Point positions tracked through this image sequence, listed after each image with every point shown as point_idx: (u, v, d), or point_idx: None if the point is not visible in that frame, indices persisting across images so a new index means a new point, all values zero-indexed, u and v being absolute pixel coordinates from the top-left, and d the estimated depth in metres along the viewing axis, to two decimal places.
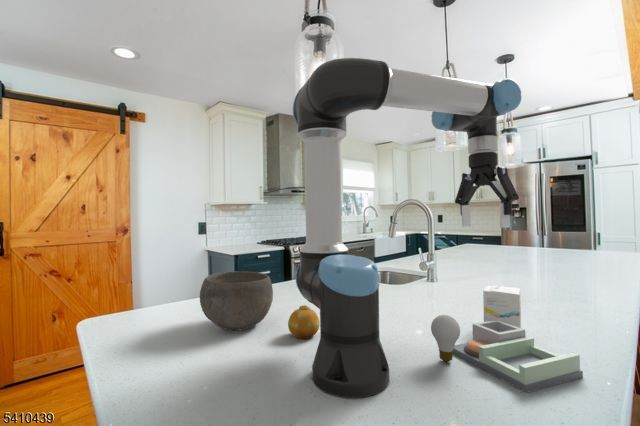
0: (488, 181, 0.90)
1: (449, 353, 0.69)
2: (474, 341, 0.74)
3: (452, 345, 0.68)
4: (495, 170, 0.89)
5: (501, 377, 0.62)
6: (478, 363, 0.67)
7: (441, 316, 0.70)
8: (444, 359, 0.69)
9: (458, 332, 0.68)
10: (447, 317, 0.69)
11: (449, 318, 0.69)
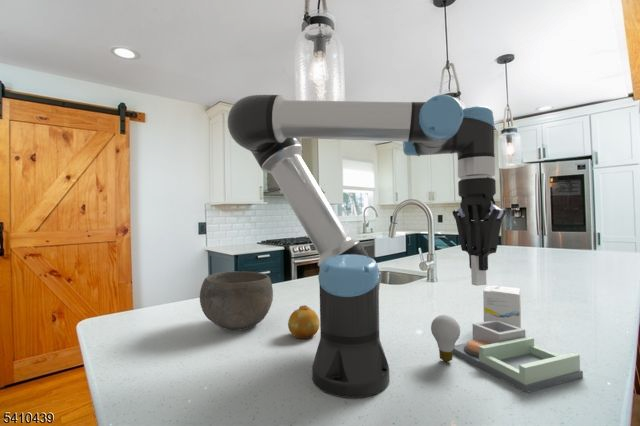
0: (476, 220, 0.70)
1: (449, 353, 0.69)
2: (474, 341, 0.74)
3: (452, 345, 0.68)
4: (491, 207, 0.68)
5: (501, 377, 0.62)
6: (478, 363, 0.67)
7: (441, 316, 0.70)
8: (444, 359, 0.69)
9: (458, 332, 0.68)
10: (447, 317, 0.69)
11: (449, 318, 0.69)
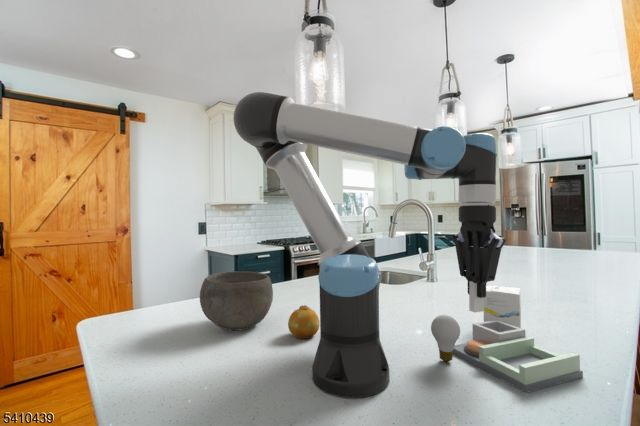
0: (476, 247, 0.70)
1: (449, 353, 0.69)
2: (474, 341, 0.74)
3: (452, 345, 0.68)
4: (491, 235, 0.68)
5: (501, 377, 0.62)
6: (478, 363, 0.67)
7: (441, 316, 0.70)
8: (444, 359, 0.69)
9: (458, 332, 0.68)
10: (447, 317, 0.69)
11: (449, 318, 0.69)
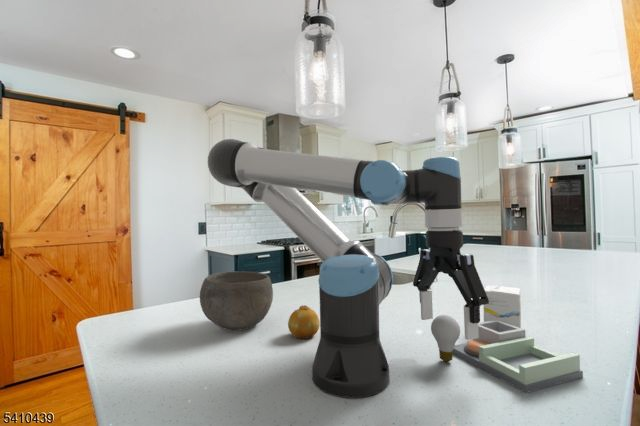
0: (449, 271, 0.66)
1: (449, 353, 0.69)
2: (474, 341, 0.74)
3: (452, 345, 0.68)
4: (458, 257, 0.66)
5: (501, 377, 0.62)
6: (478, 363, 0.67)
7: (441, 316, 0.70)
8: (444, 359, 0.69)
9: (458, 332, 0.68)
10: (447, 317, 0.69)
11: (449, 318, 0.69)
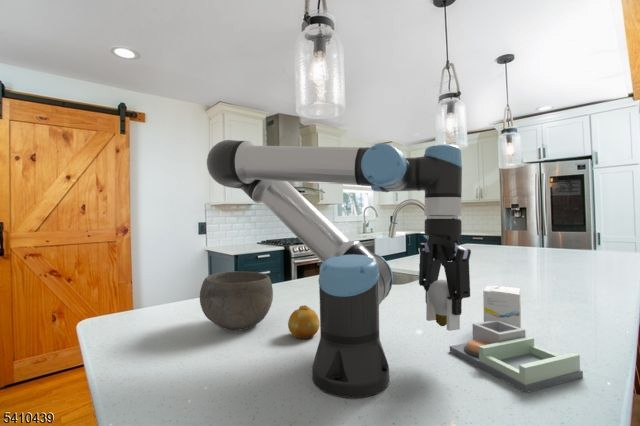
0: (443, 261, 0.68)
1: (446, 316, 0.69)
2: (474, 341, 0.74)
3: None
4: (456, 248, 0.66)
5: (501, 377, 0.62)
6: (478, 363, 0.67)
7: (439, 280, 0.70)
8: (440, 323, 0.69)
9: None
10: (445, 281, 0.69)
11: None
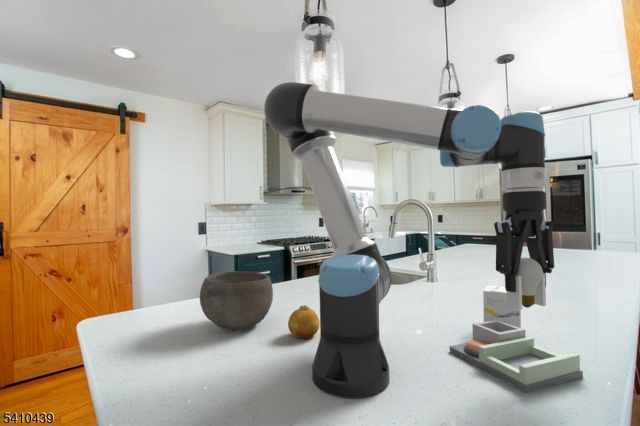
0: None
1: None
2: (474, 341, 0.74)
3: None
4: None
5: (501, 377, 0.62)
6: (478, 363, 0.67)
7: None
8: None
9: (520, 274, 0.63)
10: (521, 258, 0.65)
11: None
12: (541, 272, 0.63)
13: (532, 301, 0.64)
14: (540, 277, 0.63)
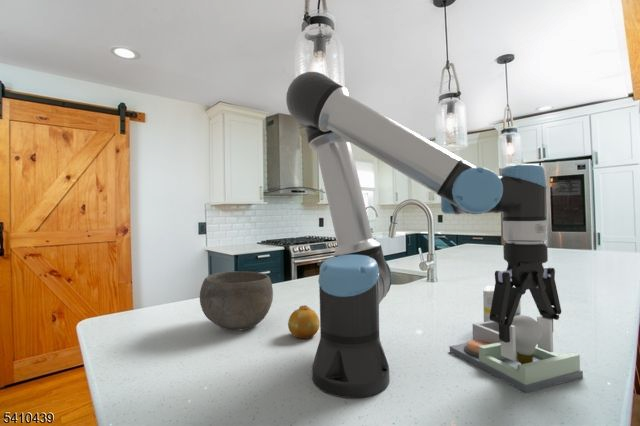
0: None
1: (519, 354, 0.65)
2: (474, 341, 0.74)
3: (519, 346, 0.64)
4: None
5: (501, 377, 0.62)
6: (478, 363, 0.67)
7: (521, 315, 0.66)
8: None
9: (519, 333, 0.63)
10: (520, 316, 0.65)
11: (519, 318, 0.65)
12: (540, 332, 0.63)
13: (530, 360, 0.64)
14: (539, 338, 0.63)
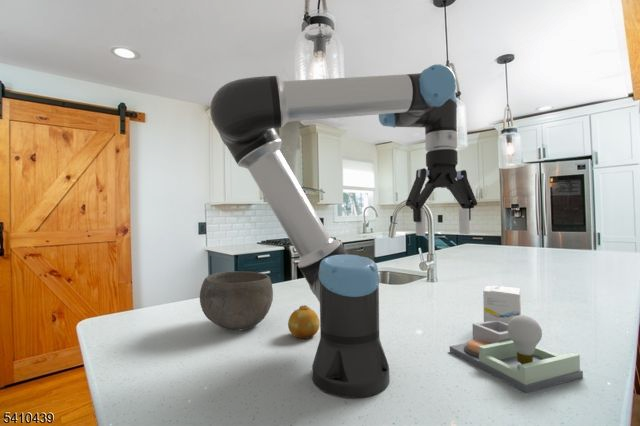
0: None
1: (519, 354, 0.65)
2: (474, 341, 0.74)
3: (519, 346, 0.64)
4: None
5: (501, 377, 0.62)
6: (478, 363, 0.67)
7: (521, 315, 0.66)
8: None
9: (519, 334, 0.63)
10: (520, 317, 0.65)
11: (519, 318, 0.65)
12: (540, 333, 0.63)
13: (530, 360, 0.64)
14: (539, 338, 0.63)
